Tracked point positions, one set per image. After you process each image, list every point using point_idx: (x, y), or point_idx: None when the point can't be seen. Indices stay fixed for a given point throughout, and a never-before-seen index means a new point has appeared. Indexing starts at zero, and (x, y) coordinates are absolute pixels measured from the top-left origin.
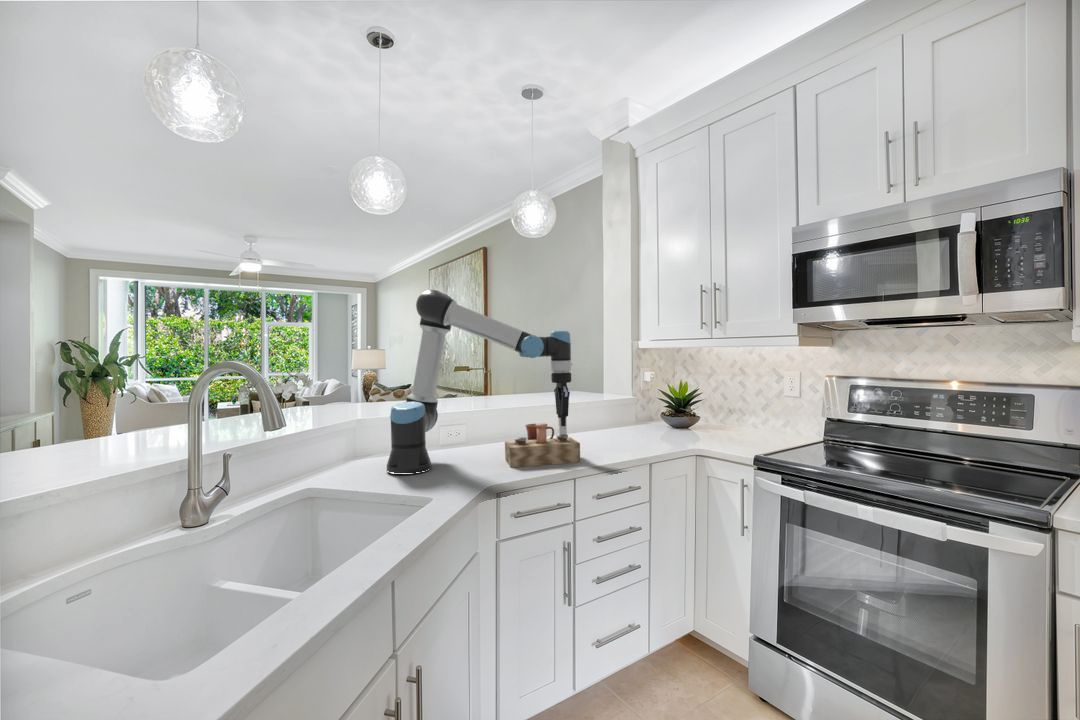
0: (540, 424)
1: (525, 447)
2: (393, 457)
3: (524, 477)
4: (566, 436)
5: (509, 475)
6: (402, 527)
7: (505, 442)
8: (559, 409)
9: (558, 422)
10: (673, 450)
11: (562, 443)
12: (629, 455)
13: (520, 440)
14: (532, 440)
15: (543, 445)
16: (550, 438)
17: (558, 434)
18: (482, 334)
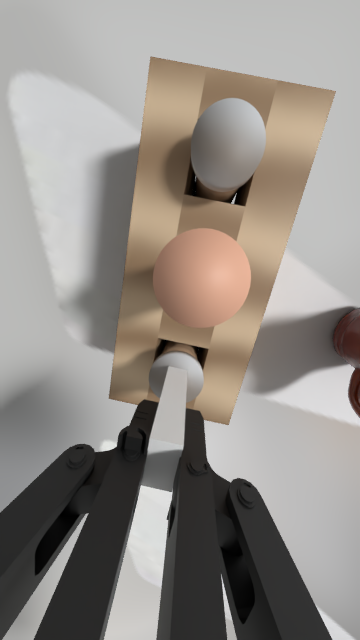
0: (192, 267)
1: (139, 159)
2: None
3: (29, 134)
4: (150, 384)
5: (67, 90)
6: None
7: (311, 87)
8: (172, 552)
9: (184, 411)
10: (140, 570)
11: (131, 343)
12: (141, 488)
13: (194, 133)
14: (264, 257)
15: (128, 254)
16: (353, 393)
17: (197, 372)
18: None
